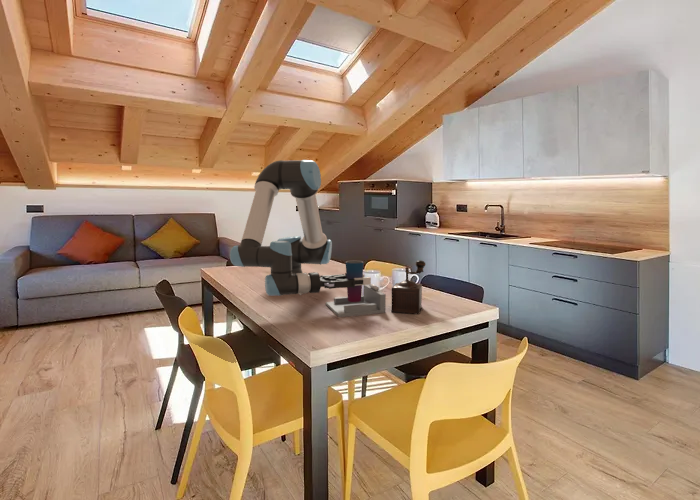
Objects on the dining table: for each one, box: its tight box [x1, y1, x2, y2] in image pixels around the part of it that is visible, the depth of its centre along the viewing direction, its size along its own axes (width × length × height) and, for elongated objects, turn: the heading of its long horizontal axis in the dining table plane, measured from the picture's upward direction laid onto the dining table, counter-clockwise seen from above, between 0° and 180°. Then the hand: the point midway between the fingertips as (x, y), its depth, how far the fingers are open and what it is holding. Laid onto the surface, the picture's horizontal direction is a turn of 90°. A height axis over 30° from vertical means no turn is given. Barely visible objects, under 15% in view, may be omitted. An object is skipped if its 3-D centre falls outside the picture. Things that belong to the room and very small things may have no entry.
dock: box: [325, 283, 387, 318], centre depth 160 cm, size 18×18×9 cm
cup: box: [345, 259, 364, 302], centre depth 159 cm, size 7×7×15 cm
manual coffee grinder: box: [391, 259, 426, 315], centre depth 160 cm, size 16×11×18 cm
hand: (367, 279), depth 161 cm, fingers closed on cup, 6 cm apart
